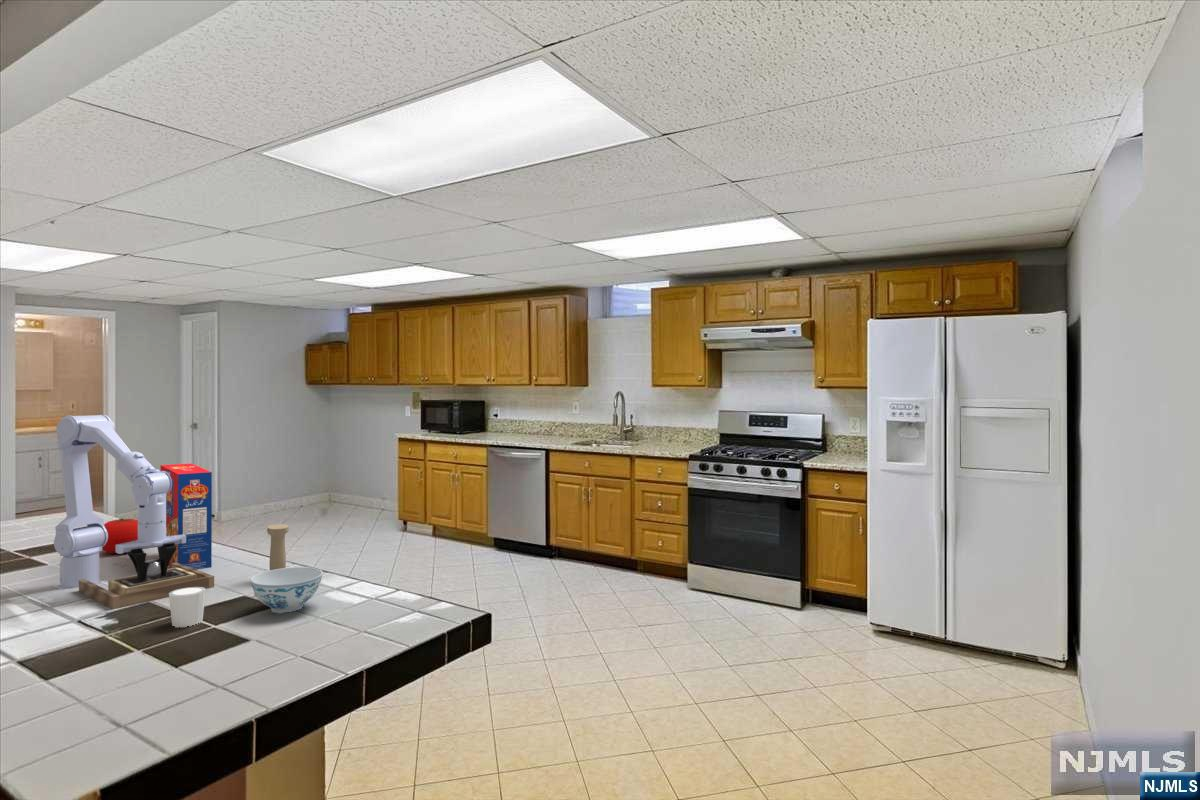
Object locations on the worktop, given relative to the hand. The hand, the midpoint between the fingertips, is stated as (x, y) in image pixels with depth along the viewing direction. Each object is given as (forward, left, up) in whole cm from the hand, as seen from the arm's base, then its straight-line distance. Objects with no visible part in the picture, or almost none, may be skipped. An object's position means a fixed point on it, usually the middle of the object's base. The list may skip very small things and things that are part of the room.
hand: (151, 577), depth 161 cm
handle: (+14, +24, -5) cm, 28 cm away
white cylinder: (+27, -3, -5) cm, 27 cm away
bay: (-3, 0, -5) cm, 5 cm away
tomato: (-57, +13, -5) cm, 59 cm away
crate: (+1, 0, -3) cm, 3 cm away
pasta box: (-26, +18, -5) cm, 32 cm away
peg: (0, 0, -2) cm, 2 cm away
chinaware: (+35, +15, -5) cm, 38 cm away
